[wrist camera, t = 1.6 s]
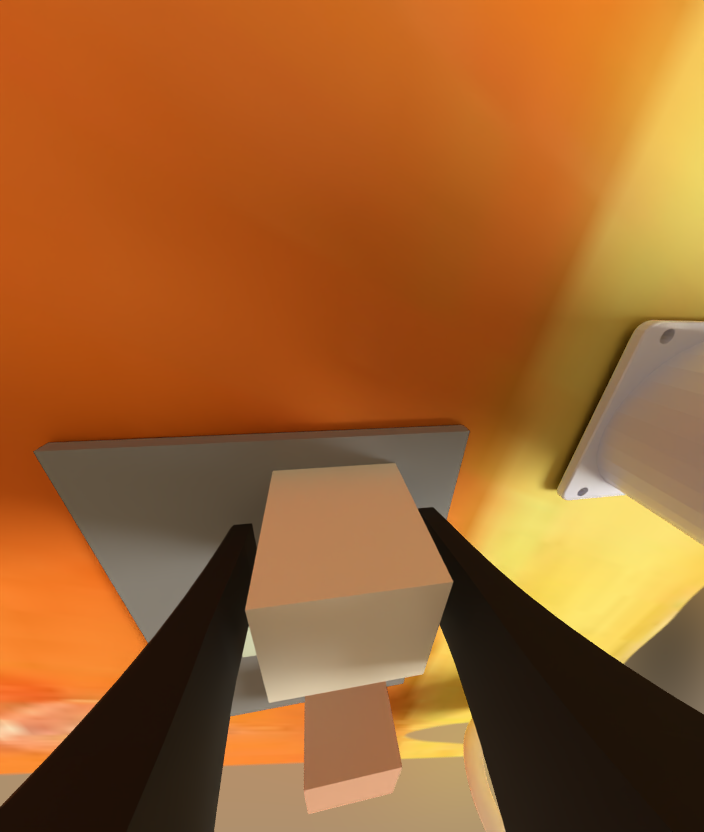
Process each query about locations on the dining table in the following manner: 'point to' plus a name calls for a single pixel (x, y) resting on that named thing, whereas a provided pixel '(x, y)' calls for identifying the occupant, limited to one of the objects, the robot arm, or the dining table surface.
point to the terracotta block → (349, 747)
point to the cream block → (343, 582)
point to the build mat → (218, 505)
